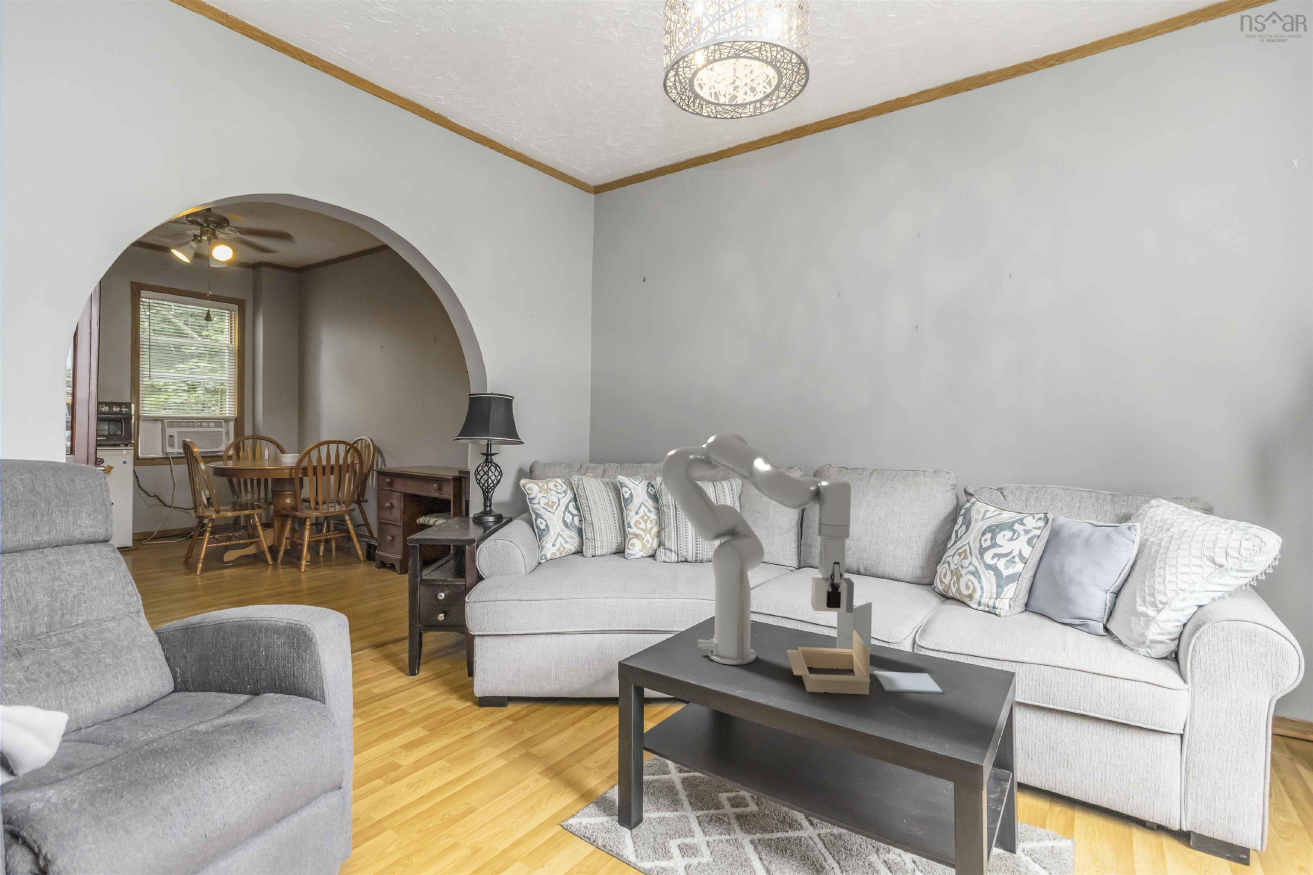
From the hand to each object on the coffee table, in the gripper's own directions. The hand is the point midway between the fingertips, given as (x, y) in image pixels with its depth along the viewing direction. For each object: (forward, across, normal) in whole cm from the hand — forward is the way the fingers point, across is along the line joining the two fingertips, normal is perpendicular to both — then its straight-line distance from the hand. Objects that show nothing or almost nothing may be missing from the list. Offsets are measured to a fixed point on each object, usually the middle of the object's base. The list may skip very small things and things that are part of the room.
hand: (831, 603), depth 162 cm
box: (+1, 0, 0) cm, 1 cm away
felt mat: (+19, 0, +19) cm, 26 cm away
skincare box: (+19, -18, +10) cm, 28 cm away
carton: (+19, 0, -1) cm, 19 cm away
